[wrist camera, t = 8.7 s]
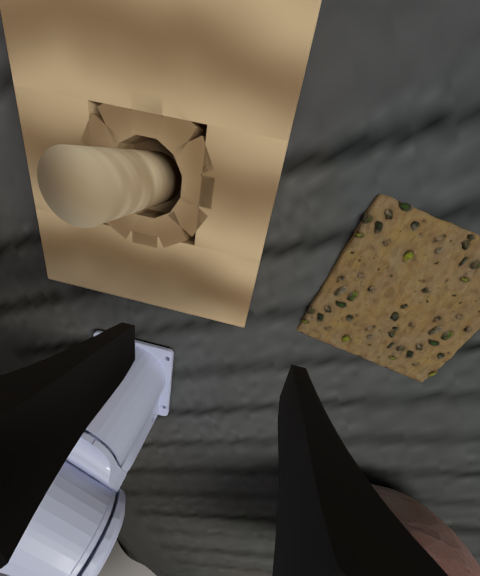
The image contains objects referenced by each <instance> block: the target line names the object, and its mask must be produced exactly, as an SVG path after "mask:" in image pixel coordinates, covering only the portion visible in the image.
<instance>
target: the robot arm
mask: <svg viewBox="0 0 480 576" xmlns="http://www.w3.org/2000/svg"><path fill="white" fill-rule="evenodd" d="M167 357H169V358H167ZM173 357H174V352H173V351H172V350H171V349H169V348H165V347H161V346H157V345H154V344H150V343H146V342H142V341H138V340H135V326H134V325H130V324H126V323H120V324H118V325H116V326H114V327H112V328H110V329H108V330H106V331H104V332H103V331H99V330H98V331H96V332H95V333H94V337H92V338H90V339H88V340H86V341H84V342H82V343H80V344H78V345H76V346H74V347H72V348H69V349H67V350H65V351H63V352H60V353H58V354H56V355H54V356H52V357H49V358H47V359H45V360H42V361H40V362H37V363H35V364H32V365H30V366H27V367H24V368H22V369H19V370H16V371H13V372H11V373H8V374H4V375H1V376H0V576H97V575H98V573H99V572H100V570H101V569H102V567H103V565H104V563H105V561H106V560H107V558H108V556H109V554H110V552H111V550H112V548H113V545H114V544H115V541H116V539H117V537H118V534H119V532H120V529H121V526H122V523H123V519H124V514H125V493H124V491H123V490H121V489H120V486H121V484H122V482H123V480H124V478H125V476H126V474H127V472H128V471H129V469H130V468H131V466H132V465H133V463H134V461H135V459H136V457H137V455H138V453H139V451H140V449H141V447H142V445H143V443H144V441H145V439H146V437H147V435H148V433H149V431H150V429H151V427H152V425H153V423H154V421H155V419H156V417H157V415H158V414H159V415H162V416H166V415H167V414H168V412H169V404H170V392H171V380H172V369H173ZM278 453H279V495H278V511H277V526H276V539H275V552H274V564H273V576H448V574H447V573H446V572H445V571H444V570H443V569H442V568H441V567H440V566H439V565H438V563H437V562H436V561H435V560H434V559H433V558H432V557H431V556H430V555H429V554H428V552H427V551H426V550H425V549H424V548H423V547H422V546H421V545H420V544H419V543H418V541H417V540H416V539H415V538H414V537H413V536H412V535H411V534H410V532H409V531H408V530H407V529H406V528H405V526H404V525H403V524H402V523H401V522H400V520H399V519H398V518H397V517H396V516H395V514H394V513H393V512H392V511H391V510H390V508H389V507H388V506H387V505H386V503H385V502H384V501H383V499H382V498H381V497H380V495H379V494H378V493H377V491H376V490H375V489H374V487H373V486H372V485H371V484H370V482H369V481H368V480H367V478H366V477H365V475H364V474H363V473H362V471H361V470H360V468H359V467H358V465H357V464H356V462H355V461H354V459H353V458H352V456H351V455H350V453H349V452H348V450H347V449H346V447H345V445H344V444H343V442H342V440H341V439H340V437H339V435H338V433H337V432H336V430H335V428H334V426H333V425H332V423H331V421H330V419H329V417H328V415H327V413H326V411H325V409H324V407H323V405H322V403H321V401H320V399H319V397H318V395H317V393H316V391H315V388H314V386H313V384H312V381H311V379H310V377H309V374H308V372H307V370H306V368H302V367H298V366H294V365H291V368H290V370H289V373H288V376H287V379H286V382H285V384H284V387H283V390H282V393H281V395H280V401H279V412H278Z"/></svg>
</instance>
